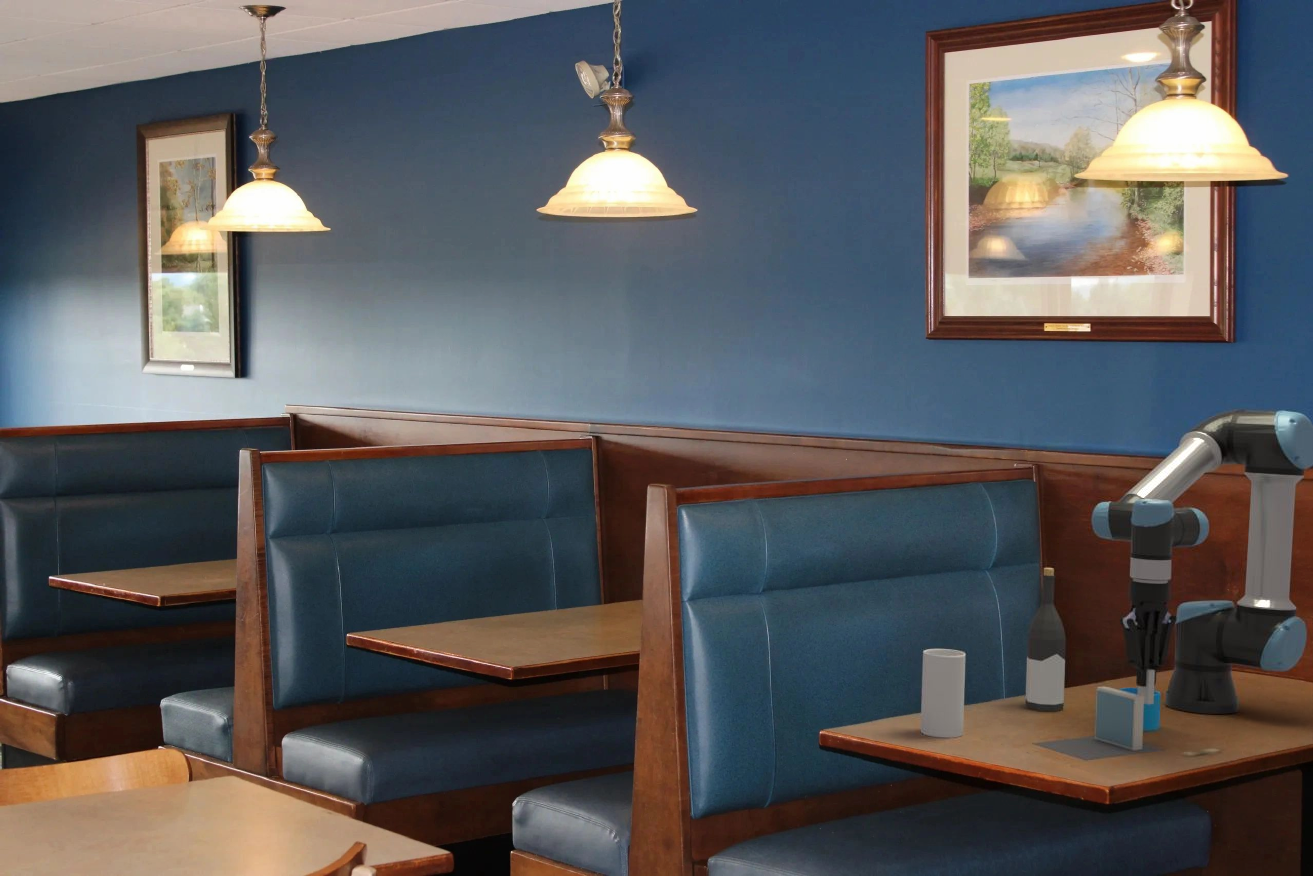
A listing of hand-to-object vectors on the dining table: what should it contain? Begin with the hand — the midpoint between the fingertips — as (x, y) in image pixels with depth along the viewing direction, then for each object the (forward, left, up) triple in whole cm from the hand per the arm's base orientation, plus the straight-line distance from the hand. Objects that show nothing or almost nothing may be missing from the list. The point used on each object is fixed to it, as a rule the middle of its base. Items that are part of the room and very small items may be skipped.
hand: (1145, 702), depth 300 cm
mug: (-9, -12, -9) cm, 17 cm away
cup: (+29, -25, -9) cm, 39 cm away
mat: (+12, 0, -9) cm, 15 cm away
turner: (+2, +12, -9) cm, 15 cm away
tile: (+7, 0, -7) cm, 10 cm away
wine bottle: (-7, -35, -9) cm, 37 cm away
